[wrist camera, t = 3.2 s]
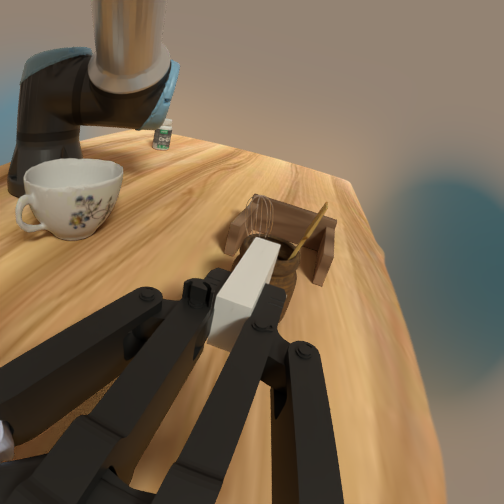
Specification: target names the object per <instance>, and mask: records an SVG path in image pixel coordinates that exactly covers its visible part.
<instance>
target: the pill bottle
mask: <svg viewBox="0 0 504 504" xmlns="http://www.w3.org/2000/svg"><path fill="white" fill-rule="evenodd" d="M171 125H172V120H171V119H165V121H164V123H163V125H162V126H161V127H160V128H158V129H156V130H155V133H154V139H153V146H152V147H153V148H154V149H157V150H168V149H169V145H170V139H171V133H172V127H171Z"/></svg>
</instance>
